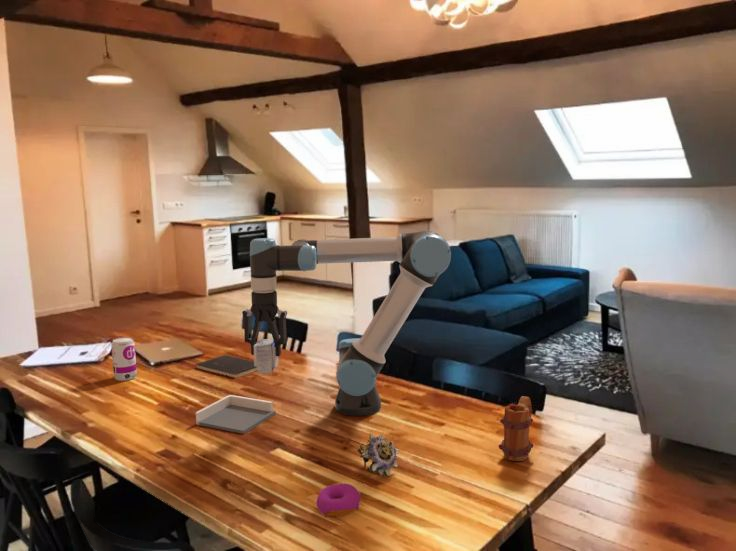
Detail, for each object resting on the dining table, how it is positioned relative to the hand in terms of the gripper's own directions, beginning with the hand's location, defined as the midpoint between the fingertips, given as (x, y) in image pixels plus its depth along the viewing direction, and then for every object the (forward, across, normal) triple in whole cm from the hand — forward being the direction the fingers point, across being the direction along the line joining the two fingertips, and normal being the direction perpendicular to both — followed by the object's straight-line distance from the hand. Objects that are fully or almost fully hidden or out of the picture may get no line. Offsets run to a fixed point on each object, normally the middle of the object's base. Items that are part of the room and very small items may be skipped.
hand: (266, 365), depth 193 cm
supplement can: (+20, +71, -34) cm, 81 cm away
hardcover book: (+20, +36, -52) cm, 67 cm away
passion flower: (+19, -39, +24) cm, 49 cm away
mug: (+18, -75, +8) cm, 78 cm away
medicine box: (+2, 0, 0) cm, 2 cm away
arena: (+19, +12, -3) cm, 23 cm away
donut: (+19, -34, +44) cm, 58 cm away
